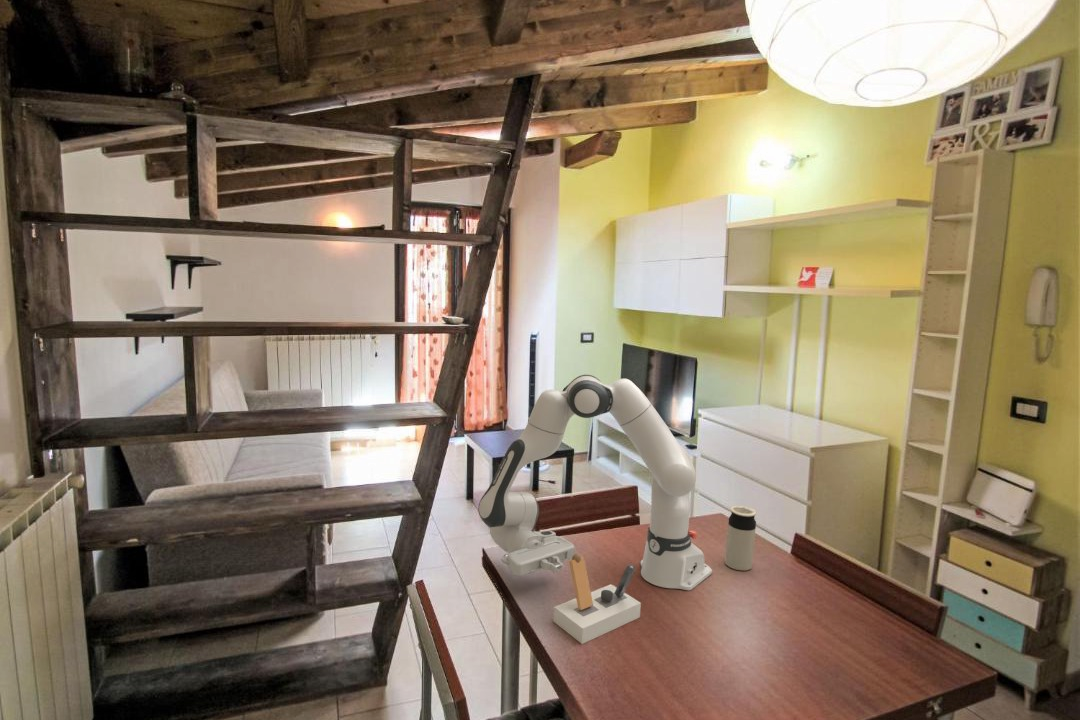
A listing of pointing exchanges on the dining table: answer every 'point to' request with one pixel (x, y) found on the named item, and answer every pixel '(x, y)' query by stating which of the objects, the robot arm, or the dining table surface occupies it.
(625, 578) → the toggle lever
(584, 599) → the paddle lever
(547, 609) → the dining table surface
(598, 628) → the console
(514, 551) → the robot arm
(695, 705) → the dining table surface
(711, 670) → the dining table surface
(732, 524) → the travel mug
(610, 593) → the push button
